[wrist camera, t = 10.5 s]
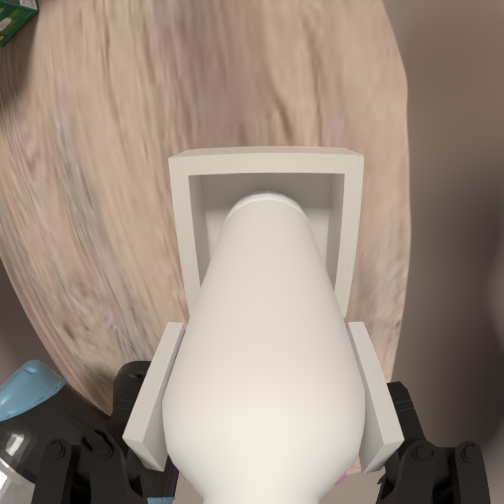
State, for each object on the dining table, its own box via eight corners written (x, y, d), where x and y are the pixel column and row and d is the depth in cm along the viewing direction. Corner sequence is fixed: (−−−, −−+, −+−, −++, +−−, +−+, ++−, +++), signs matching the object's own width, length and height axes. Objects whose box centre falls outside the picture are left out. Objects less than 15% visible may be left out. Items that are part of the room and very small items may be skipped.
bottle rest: (334, 284, 32) (345, 316, 27) (201, 285, 33) (189, 317, 28) (344, 147, 26) (364, 155, 20) (187, 149, 27) (168, 158, 21)
